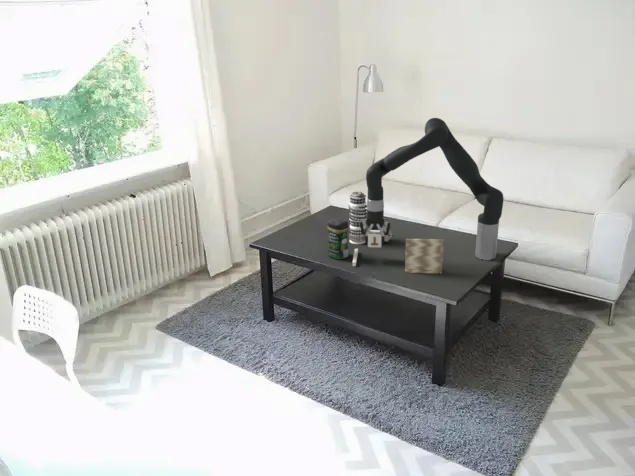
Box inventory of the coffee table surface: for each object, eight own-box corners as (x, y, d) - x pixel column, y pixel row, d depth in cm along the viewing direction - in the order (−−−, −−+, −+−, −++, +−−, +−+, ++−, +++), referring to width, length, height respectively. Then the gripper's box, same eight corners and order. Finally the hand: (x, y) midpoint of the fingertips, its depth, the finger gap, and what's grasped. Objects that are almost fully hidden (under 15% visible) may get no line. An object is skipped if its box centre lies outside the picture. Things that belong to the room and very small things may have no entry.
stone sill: (354, 252, 286) (354, 248, 286) (357, 252, 286) (357, 248, 285) (352, 266, 272) (352, 262, 271) (355, 266, 271) (355, 262, 271)
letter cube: (368, 242, 278) (368, 230, 276) (381, 242, 277) (381, 230, 275) (367, 247, 272) (368, 234, 270) (381, 247, 272) (381, 235, 270)
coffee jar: (325, 255, 284) (324, 218, 277) (337, 251, 288) (336, 214, 282) (339, 261, 277) (338, 223, 270) (351, 256, 282) (351, 219, 275)
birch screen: (405, 272, 264) (406, 240, 258) (404, 268, 268) (405, 237, 262) (442, 273, 262) (443, 241, 256) (441, 269, 266) (443, 238, 260)
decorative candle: (367, 237, 304) (367, 190, 295) (366, 244, 295) (367, 195, 286) (349, 237, 305) (348, 190, 296) (348, 244, 296) (347, 195, 287)
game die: (387, 247, 300) (400, 232, 297) (380, 247, 293) (393, 232, 290) (375, 236, 304) (387, 221, 301) (368, 235, 296) (380, 220, 293)
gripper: (358, 210, 266) (358, 245, 272) (391, 211, 264) (390, 246, 270) (359, 205, 273) (359, 239, 279) (391, 205, 271) (390, 240, 277)
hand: (374, 242), depth 275 cm, fingers closed on letter cube, 6 cm apart
